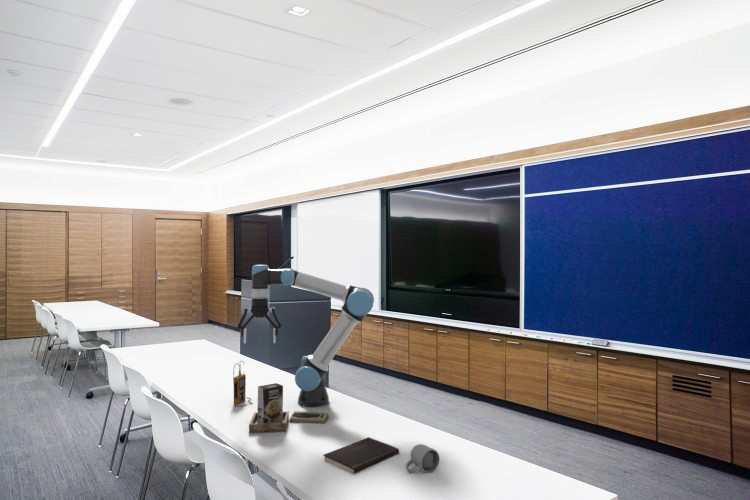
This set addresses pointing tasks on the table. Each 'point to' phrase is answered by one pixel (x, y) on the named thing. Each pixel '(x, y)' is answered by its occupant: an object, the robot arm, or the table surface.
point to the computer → (309, 417)
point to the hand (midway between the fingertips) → (259, 342)
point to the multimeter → (239, 387)
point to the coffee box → (270, 403)
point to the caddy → (268, 425)
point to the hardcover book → (361, 454)
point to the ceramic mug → (423, 459)
